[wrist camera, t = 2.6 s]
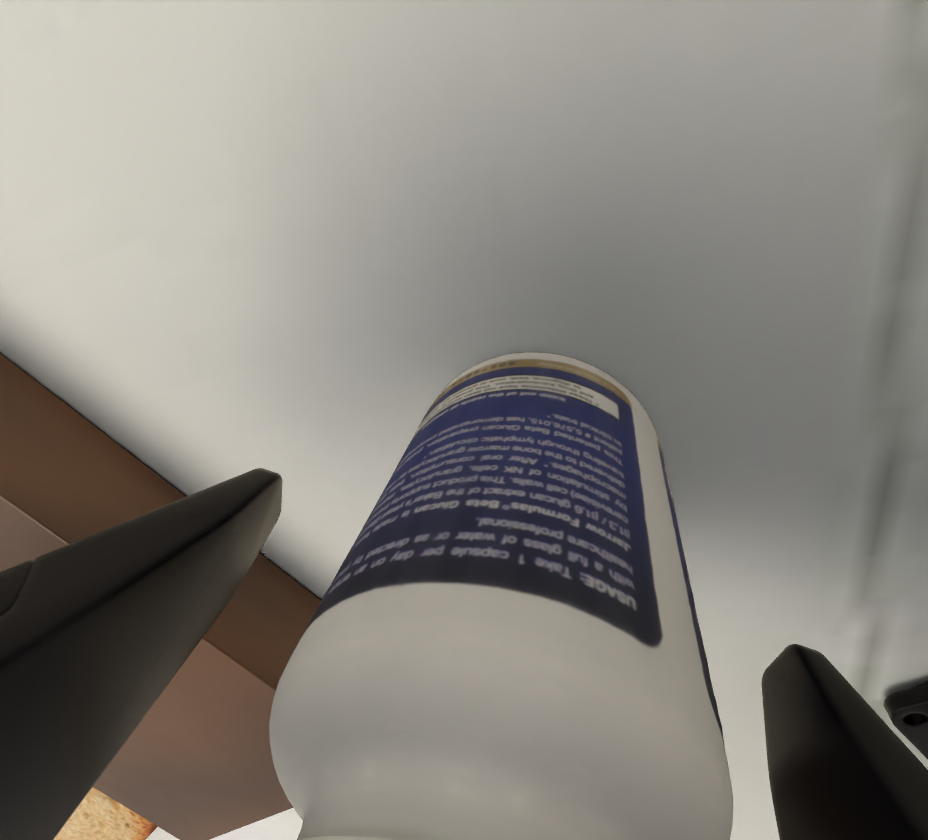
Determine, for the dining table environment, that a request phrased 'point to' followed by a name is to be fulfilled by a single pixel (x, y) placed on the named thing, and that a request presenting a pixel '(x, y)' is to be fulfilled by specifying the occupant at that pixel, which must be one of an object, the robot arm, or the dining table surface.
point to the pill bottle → (510, 634)
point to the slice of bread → (104, 821)
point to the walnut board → (208, 666)
